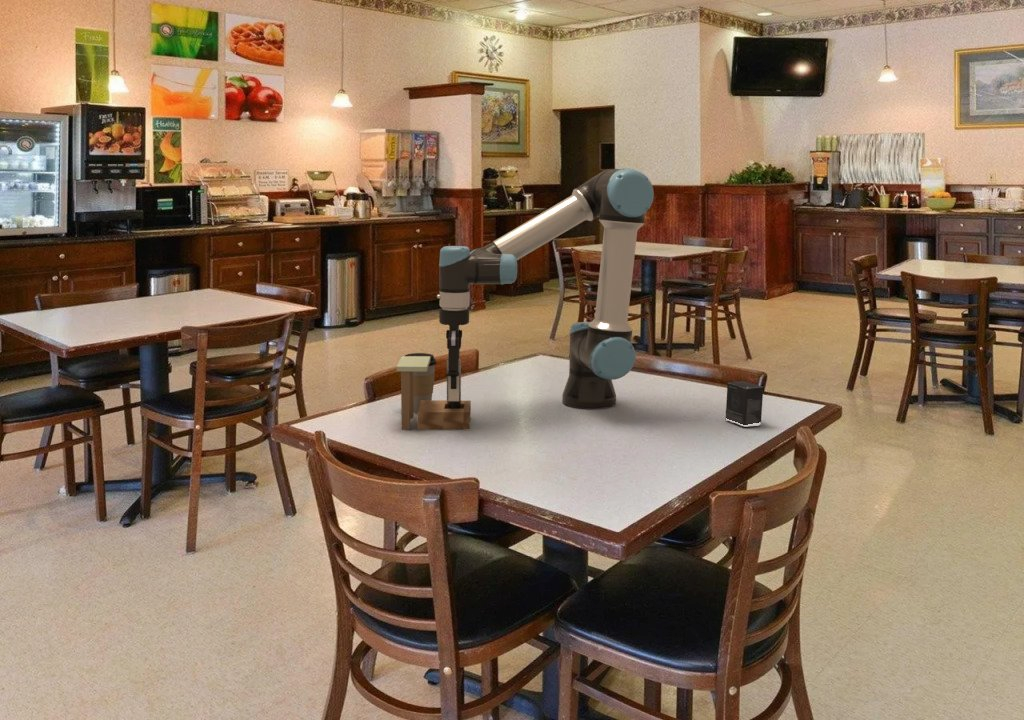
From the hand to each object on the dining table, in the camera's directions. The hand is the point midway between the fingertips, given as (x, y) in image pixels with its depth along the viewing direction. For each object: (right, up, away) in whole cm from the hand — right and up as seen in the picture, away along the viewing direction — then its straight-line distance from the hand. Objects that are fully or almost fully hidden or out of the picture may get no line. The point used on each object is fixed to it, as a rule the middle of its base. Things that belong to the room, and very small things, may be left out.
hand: (454, 398), depth 240 cm
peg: (0, -4, +1) cm, 4 cm away
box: (+75, -7, +4) cm, 75 cm away
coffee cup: (-10, -4, +14) cm, 18 cm away
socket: (-3, -6, +1) cm, 7 cm away
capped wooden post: (-10, -6, +1) cm, 12 cm away
